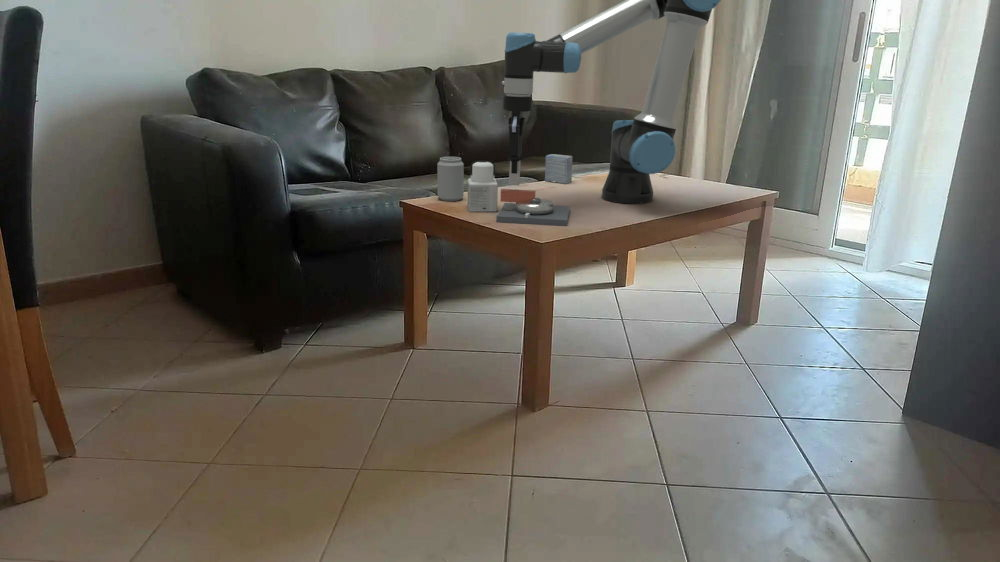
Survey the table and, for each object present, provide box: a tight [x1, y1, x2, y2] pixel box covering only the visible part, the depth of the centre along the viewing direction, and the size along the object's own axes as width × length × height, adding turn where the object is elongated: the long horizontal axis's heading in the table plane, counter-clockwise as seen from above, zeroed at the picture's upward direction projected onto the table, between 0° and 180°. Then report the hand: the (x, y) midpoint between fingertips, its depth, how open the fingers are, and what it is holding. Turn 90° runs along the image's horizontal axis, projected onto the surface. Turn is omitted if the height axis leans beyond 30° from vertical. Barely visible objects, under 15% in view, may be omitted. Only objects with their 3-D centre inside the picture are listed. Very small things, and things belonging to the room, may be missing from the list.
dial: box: [500, 188, 555, 214], centre depth 190 cm, size 14×10×5 cm
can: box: [436, 156, 465, 202], centre depth 208 cm, size 8×8×12 cm
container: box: [467, 160, 499, 213], centre depth 197 cm, size 8×8×13 cm
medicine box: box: [544, 153, 573, 185], centre depth 236 cm, size 8×4×9 cm, turn 59°
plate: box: [495, 202, 571, 227], centre depth 191 cm, size 18×16×2 cm
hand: (514, 184), depth 195 cm, fingers closed
